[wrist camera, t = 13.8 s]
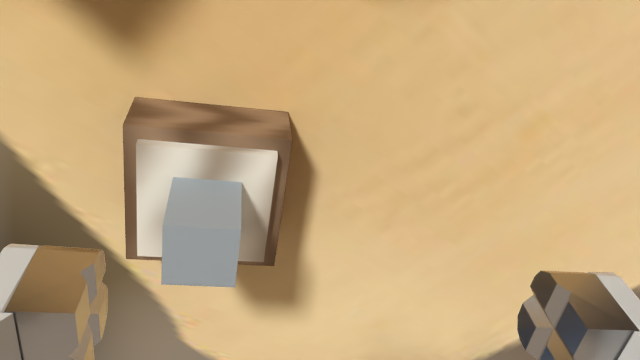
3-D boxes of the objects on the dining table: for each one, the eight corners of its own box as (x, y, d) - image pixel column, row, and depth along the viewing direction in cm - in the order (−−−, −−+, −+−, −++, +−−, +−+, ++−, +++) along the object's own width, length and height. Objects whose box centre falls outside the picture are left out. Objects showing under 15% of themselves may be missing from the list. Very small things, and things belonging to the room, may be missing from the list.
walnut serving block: (287, 112, 45) (293, 145, 41) (271, 230, 51) (274, 272, 47) (134, 97, 43) (120, 130, 38) (136, 222, 49) (124, 265, 44)
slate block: (241, 182, 42) (241, 229, 37) (236, 235, 44) (235, 287, 39) (172, 176, 41) (162, 224, 36) (171, 232, 43) (161, 284, 38)
